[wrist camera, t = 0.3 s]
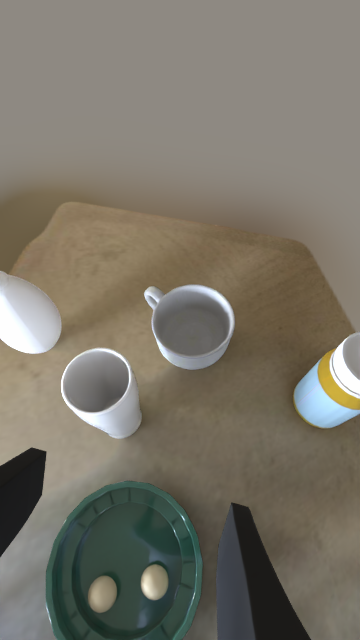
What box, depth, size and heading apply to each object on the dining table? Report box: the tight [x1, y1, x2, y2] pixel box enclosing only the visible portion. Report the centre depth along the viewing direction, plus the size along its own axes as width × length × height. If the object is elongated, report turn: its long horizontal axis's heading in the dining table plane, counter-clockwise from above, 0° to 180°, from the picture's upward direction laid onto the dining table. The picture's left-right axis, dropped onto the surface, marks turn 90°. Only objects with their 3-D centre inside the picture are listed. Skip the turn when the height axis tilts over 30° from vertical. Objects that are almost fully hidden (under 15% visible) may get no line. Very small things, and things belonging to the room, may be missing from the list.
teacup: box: [144, 284, 235, 370], centre depth 45 cm, size 14×11×8 cm
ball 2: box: [141, 564, 169, 600], centre depth 32 cm, size 3×3×3 cm
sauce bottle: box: [0, 271, 62, 353], centre depth 41 cm, size 8×8×18 cm
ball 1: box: [88, 576, 117, 613], centre depth 32 cm, size 3×3×3 cm
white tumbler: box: [61, 348, 142, 439], centre depth 36 cm, size 7×7×15 cm
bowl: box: [46, 481, 203, 640], centre depth 33 cm, size 15×15×4 cm
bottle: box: [293, 332, 360, 429], centre depth 37 cm, size 7×7×15 cm
